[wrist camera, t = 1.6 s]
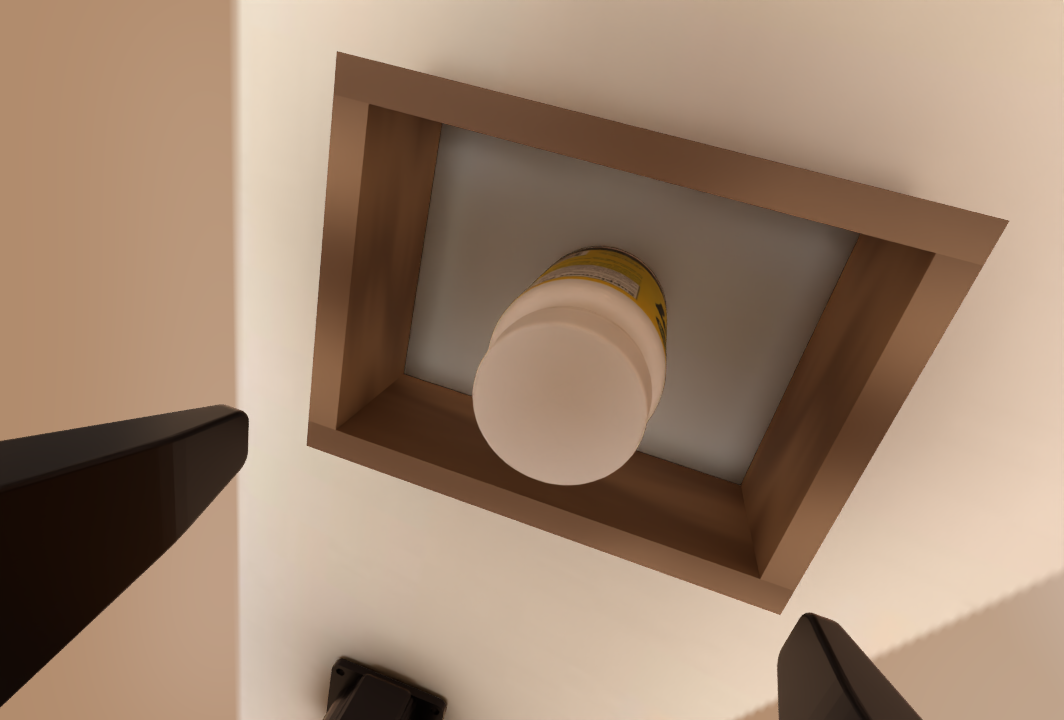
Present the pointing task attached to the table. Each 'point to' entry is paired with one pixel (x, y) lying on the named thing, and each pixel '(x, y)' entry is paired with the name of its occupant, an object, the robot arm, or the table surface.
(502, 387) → the supplement bottle
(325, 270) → the walnut box
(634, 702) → the table surface
